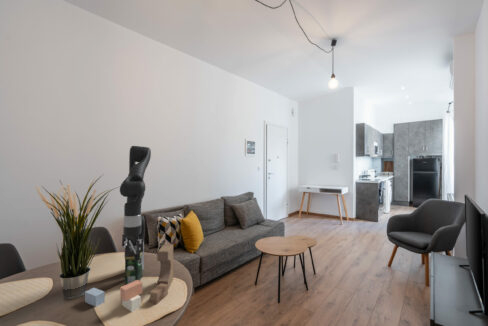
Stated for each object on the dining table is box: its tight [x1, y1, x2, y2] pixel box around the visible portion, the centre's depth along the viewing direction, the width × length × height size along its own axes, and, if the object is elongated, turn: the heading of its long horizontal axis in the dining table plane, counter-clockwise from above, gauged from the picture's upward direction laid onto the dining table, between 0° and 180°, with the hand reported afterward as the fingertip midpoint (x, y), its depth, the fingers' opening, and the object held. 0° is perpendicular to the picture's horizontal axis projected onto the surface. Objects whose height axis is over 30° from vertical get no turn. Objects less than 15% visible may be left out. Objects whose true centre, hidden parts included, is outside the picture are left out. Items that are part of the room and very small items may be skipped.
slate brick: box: [84, 287, 106, 307], centre depth 107 cm, size 8×4×5 cm, turn 66°
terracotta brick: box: [119, 280, 143, 301], centre depth 104 cm, size 8×4×5 cm, turn 144°
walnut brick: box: [149, 283, 169, 305], centre depth 110 cm, size 8×4×5 cm, turn 164°
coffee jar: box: [124, 245, 143, 285], centre depth 126 cm, size 10×8×19 cm
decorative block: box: [156, 243, 174, 290], centre depth 122 cm, size 11×6×20 cm, turn 2°
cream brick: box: [121, 294, 142, 313], centre depth 104 cm, size 8×4×5 cm, turn 56°
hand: (132, 258), depth 107 cm, fingers open, 8 cm apart
